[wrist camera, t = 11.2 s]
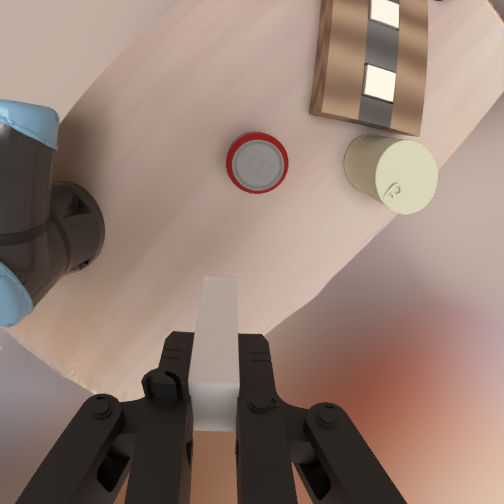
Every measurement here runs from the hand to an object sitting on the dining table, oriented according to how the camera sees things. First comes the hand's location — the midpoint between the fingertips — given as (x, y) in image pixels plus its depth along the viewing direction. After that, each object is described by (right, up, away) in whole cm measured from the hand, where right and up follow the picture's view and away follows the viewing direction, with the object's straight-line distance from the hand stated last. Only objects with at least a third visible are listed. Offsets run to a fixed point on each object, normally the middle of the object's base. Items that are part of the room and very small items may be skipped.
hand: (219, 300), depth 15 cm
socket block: (+18, +31, +21) cm, 41 cm away
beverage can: (+2, +16, +27) cm, 31 cm away
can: (+20, +16, +28) cm, 37 cm away
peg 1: (+18, +36, +18) cm, 44 cm away
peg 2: (+17, +26, +22) cm, 38 cm away
